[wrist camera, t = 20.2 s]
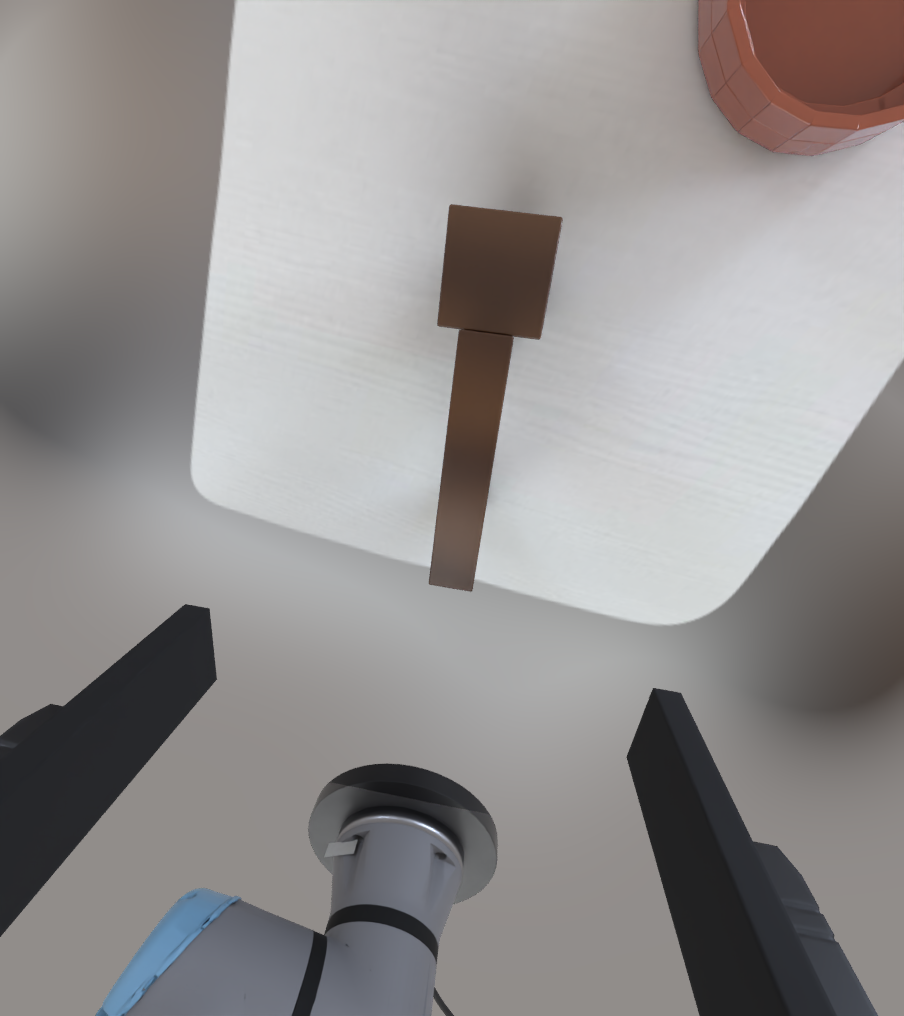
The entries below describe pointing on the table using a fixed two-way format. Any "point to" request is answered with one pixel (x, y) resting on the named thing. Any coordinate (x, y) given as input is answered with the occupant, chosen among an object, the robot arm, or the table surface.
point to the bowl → (805, 69)
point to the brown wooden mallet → (483, 360)
